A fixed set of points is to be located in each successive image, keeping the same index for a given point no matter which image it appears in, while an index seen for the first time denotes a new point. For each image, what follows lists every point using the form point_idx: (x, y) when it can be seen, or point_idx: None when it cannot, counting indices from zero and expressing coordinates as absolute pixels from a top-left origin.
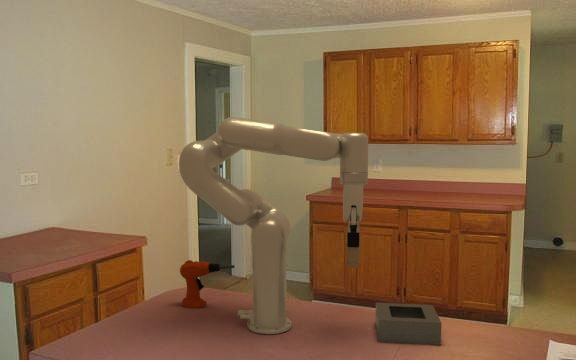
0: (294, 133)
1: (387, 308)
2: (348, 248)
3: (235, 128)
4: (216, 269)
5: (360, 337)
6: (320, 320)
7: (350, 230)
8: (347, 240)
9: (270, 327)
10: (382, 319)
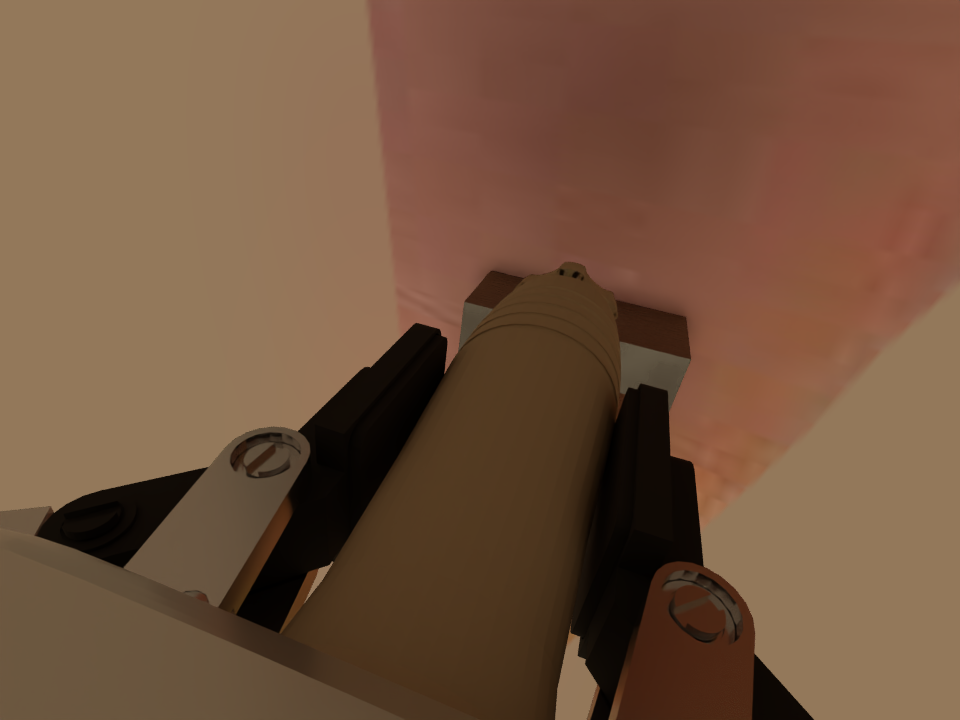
0: None
1: None
2: (476, 331)
3: None
4: None
5: (536, 216)
6: (789, 39)
7: (198, 470)
8: (381, 358)
9: None
10: (469, 317)
